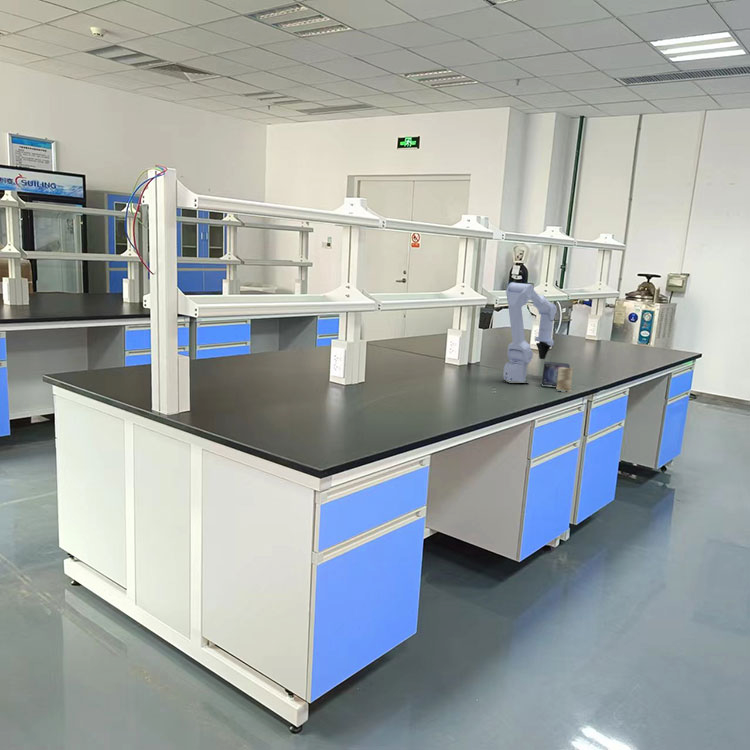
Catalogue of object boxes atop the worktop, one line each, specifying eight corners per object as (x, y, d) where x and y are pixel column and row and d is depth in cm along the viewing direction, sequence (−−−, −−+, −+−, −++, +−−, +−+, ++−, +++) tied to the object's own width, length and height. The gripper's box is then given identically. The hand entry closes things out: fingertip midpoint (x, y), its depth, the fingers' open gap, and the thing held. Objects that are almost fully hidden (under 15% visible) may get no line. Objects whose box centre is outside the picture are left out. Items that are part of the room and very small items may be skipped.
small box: (541, 387, 282) (544, 363, 280) (541, 384, 288) (544, 361, 286) (567, 389, 280) (570, 365, 278) (565, 387, 286) (568, 363, 284)
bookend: (559, 392, 273) (562, 368, 271) (555, 390, 276) (558, 367, 274) (572, 392, 274) (575, 369, 272) (568, 391, 277) (571, 367, 275)
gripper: (561, 331, 291) (557, 361, 293) (546, 327, 305) (542, 356, 307) (546, 331, 289) (543, 361, 292) (532, 327, 303) (529, 355, 306)
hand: (542, 358), depth 299 cm, fingers closed
